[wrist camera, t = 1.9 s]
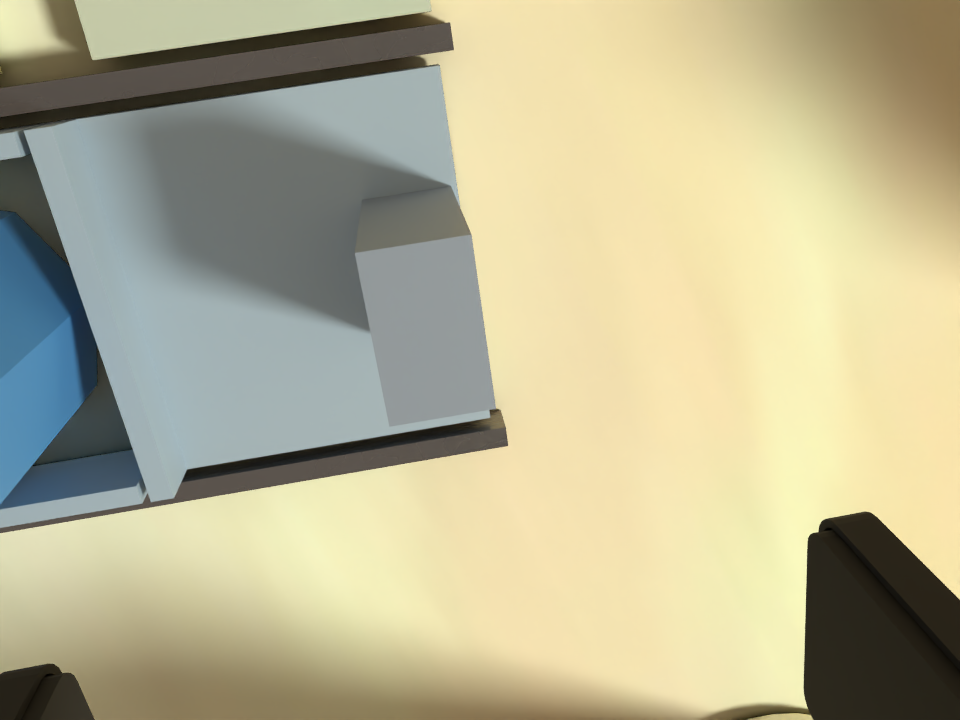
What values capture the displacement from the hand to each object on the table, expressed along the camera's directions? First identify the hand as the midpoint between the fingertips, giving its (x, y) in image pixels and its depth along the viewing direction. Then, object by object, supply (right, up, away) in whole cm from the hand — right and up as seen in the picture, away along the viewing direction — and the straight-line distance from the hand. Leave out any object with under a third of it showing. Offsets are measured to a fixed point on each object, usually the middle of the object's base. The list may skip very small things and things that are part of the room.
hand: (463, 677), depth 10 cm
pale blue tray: (-12, +6, +18) cm, 23 cm away
